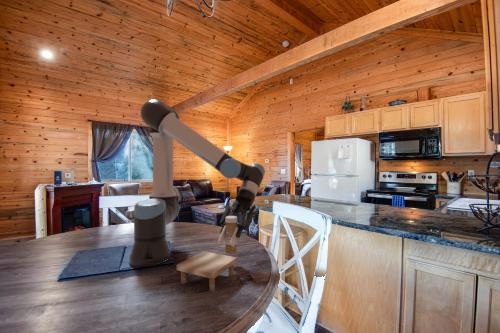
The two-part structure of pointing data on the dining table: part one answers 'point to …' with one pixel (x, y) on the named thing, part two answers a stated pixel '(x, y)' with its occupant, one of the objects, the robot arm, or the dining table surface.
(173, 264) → the dining table surface
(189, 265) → the stool
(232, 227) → the spice jar
